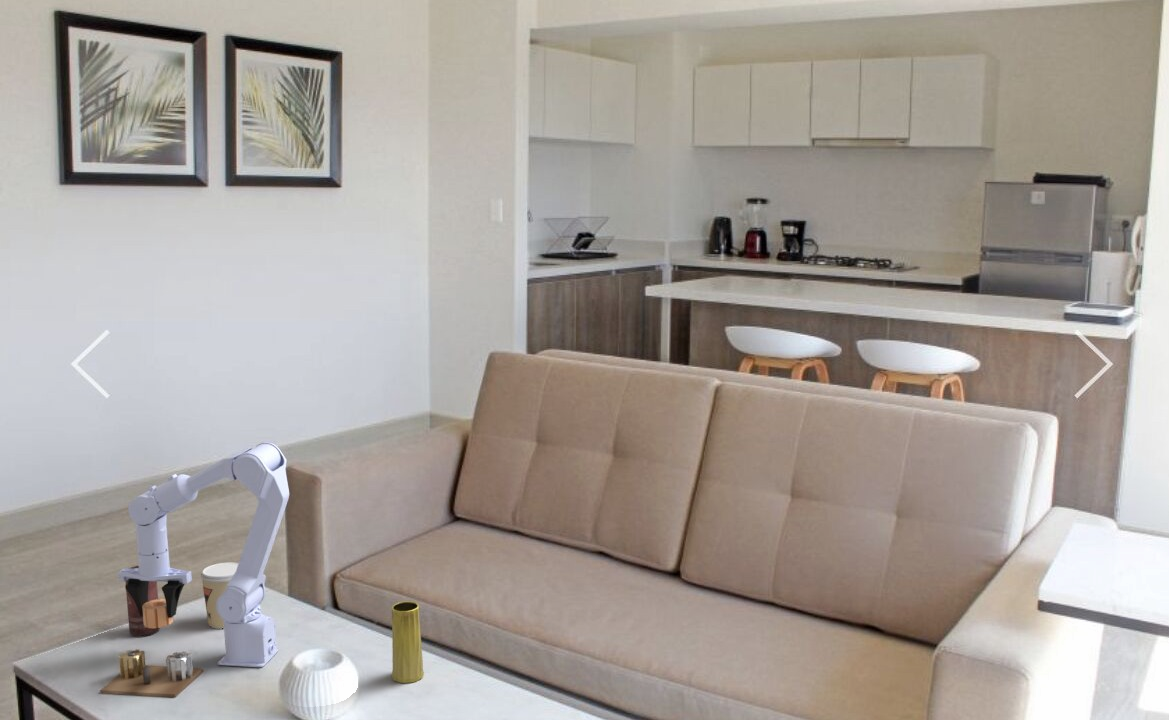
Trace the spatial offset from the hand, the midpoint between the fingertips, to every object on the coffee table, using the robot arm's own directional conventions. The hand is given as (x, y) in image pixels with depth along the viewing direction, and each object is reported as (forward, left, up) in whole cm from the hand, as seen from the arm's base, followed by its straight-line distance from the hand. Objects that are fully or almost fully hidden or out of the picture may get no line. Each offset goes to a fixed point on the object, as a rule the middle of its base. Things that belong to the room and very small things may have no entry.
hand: (158, 615), depth 218 cm
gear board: (-5, +12, -8) cm, 15 cm away
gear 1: (0, +10, -8) cm, 13 cm away
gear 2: (-10, +10, -8) cm, 16 cm away
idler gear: (0, 0, -2) cm, 2 cm away
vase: (-53, +4, -9) cm, 54 cm away
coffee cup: (-6, -17, -9) cm, 20 cm away
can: (+9, -10, -9) cm, 16 cm away
